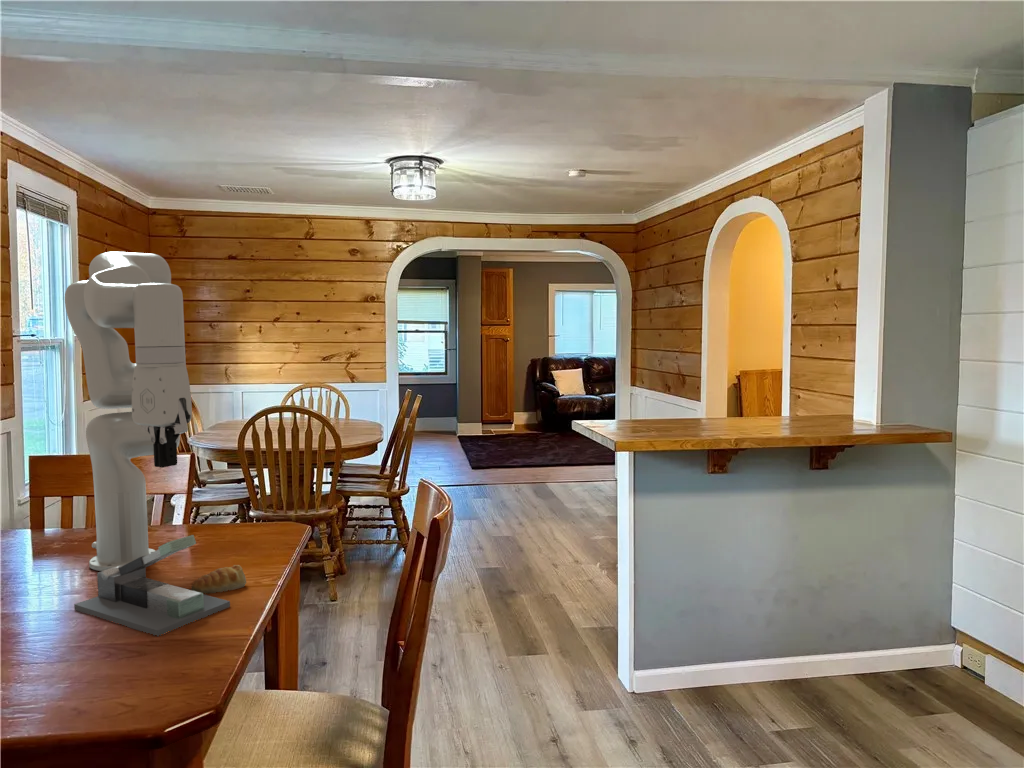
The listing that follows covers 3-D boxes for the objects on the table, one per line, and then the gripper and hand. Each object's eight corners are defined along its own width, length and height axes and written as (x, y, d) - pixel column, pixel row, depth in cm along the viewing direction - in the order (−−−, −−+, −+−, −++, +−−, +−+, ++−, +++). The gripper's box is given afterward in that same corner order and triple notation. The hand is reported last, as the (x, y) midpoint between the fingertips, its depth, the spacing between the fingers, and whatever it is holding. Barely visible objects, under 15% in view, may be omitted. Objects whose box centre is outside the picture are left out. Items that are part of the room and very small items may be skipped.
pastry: (198, 600, 132) (197, 579, 132) (186, 590, 137) (185, 570, 137) (249, 587, 138) (248, 567, 138) (236, 578, 143) (235, 559, 143)
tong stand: (97, 597, 130) (95, 568, 130) (131, 586, 136) (129, 558, 135) (174, 620, 119) (173, 588, 119) (207, 607, 125) (206, 577, 125)
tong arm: (119, 576, 127) (117, 567, 128) (145, 568, 132) (142, 560, 132) (171, 551, 120) (168, 541, 120) (196, 543, 124) (193, 534, 124)
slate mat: (74, 609, 127) (74, 604, 127) (148, 584, 139) (148, 579, 139) (157, 636, 116) (157, 630, 116) (230, 606, 128) (229, 601, 128)
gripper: (112, 358, 122) (117, 466, 123) (169, 359, 114) (174, 473, 116) (153, 356, 128) (158, 459, 130) (209, 357, 121) (214, 465, 122)
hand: (166, 465), depth 123 cm, fingers closed
